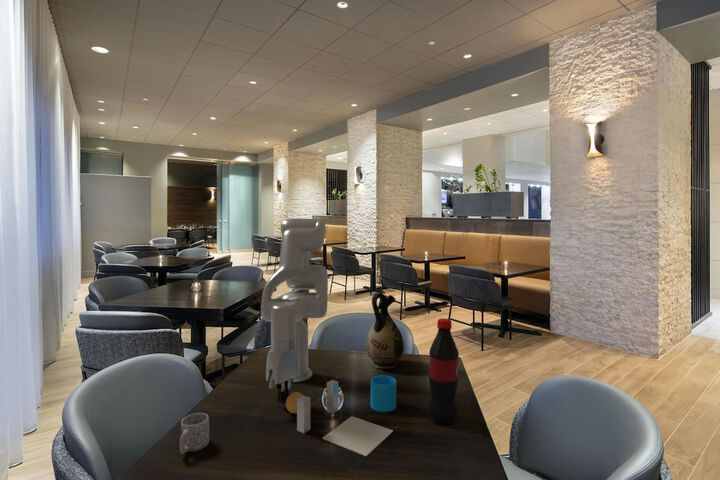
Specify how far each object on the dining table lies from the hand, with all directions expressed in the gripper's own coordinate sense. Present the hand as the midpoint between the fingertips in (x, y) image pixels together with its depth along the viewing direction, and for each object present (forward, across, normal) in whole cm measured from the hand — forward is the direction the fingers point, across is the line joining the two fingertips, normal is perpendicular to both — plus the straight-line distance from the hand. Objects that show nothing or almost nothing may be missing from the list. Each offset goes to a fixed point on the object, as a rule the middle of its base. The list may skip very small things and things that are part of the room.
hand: (283, 401), depth 120 cm
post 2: (+2, -8, +14) cm, 16 cm away
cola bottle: (+2, -23, +43) cm, 49 cm away
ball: (-1, 0, +5) cm, 5 cm away
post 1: (+2, +6, +14) cm, 15 cm away
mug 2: (+2, -21, +23) cm, 32 cm away
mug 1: (+3, +29, -3) cm, 29 cm away
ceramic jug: (+2, -49, +6) cm, 49 cm away
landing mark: (+2, -1, +28) cm, 28 cm away
